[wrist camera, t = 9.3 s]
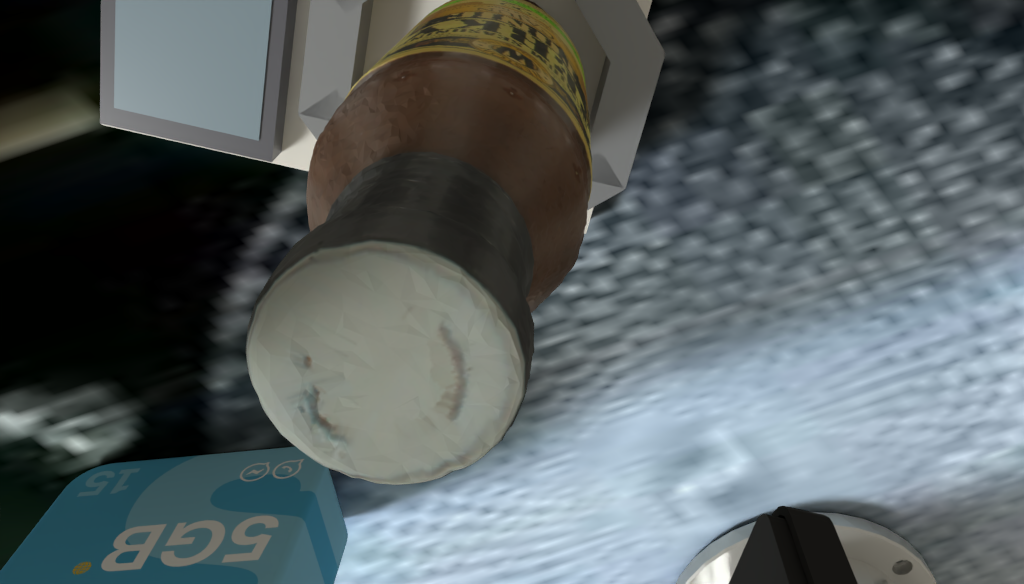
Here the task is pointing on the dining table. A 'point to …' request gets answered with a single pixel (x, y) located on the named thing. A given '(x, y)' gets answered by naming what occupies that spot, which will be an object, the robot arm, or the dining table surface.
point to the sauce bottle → (429, 247)
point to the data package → (190, 524)
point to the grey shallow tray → (404, 3)
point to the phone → (199, 71)
